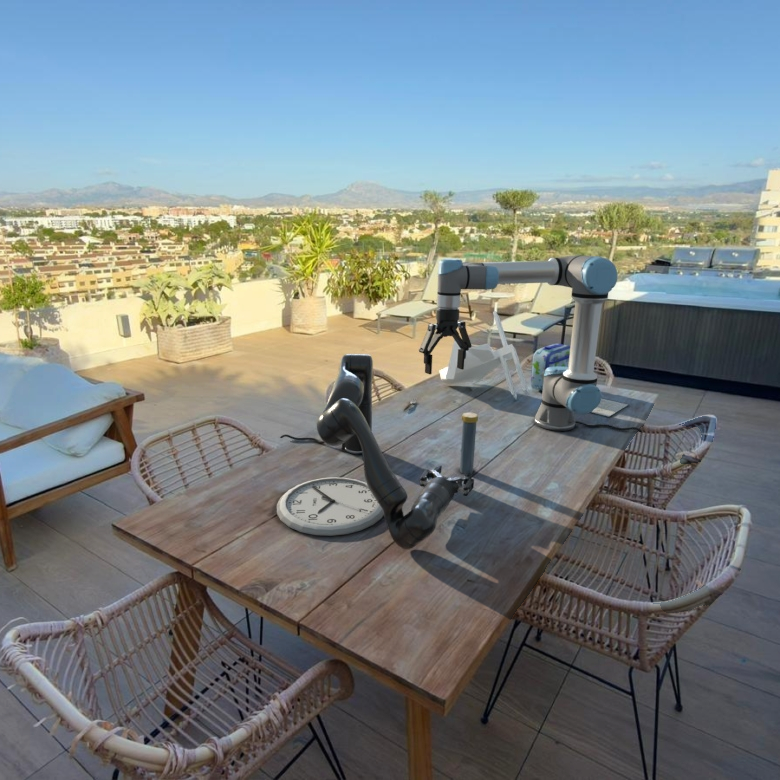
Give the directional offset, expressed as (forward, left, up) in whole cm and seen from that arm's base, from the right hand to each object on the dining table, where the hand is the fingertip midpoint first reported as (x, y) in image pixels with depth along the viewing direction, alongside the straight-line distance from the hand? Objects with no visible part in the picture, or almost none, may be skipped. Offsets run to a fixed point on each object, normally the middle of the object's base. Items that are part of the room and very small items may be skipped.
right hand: (444, 371), depth 176 cm
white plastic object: (-16, -64, -27) cm, 72 cm away
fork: (+14, -39, -27) cm, 50 cm away
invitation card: (-68, -52, -27) cm, 90 cm away
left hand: (-4, +33, -21) cm, 39 cm away
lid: (-9, +20, -8) cm, 23 cm away
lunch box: (-51, -77, -27) cm, 96 cm away
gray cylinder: (-9, +20, -27) cm, 35 cm away
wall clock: (+28, +47, -27) cm, 61 cm away
